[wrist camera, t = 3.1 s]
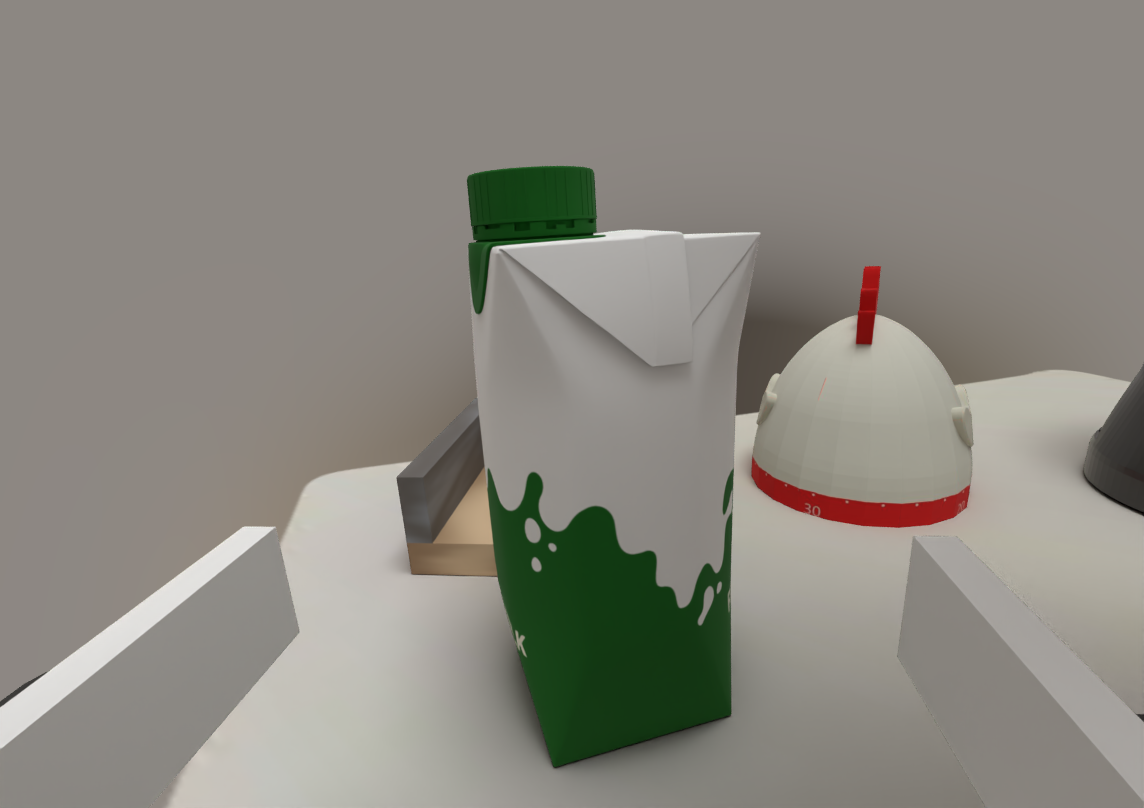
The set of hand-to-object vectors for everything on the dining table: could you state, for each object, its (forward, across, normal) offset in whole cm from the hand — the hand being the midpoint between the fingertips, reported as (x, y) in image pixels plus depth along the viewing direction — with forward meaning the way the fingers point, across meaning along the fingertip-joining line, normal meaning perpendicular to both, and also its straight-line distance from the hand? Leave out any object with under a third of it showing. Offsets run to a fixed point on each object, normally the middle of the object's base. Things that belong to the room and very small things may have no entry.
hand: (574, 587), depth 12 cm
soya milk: (+10, 0, -11) cm, 15 cm away
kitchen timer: (+30, +16, -11) cm, 36 cm away
